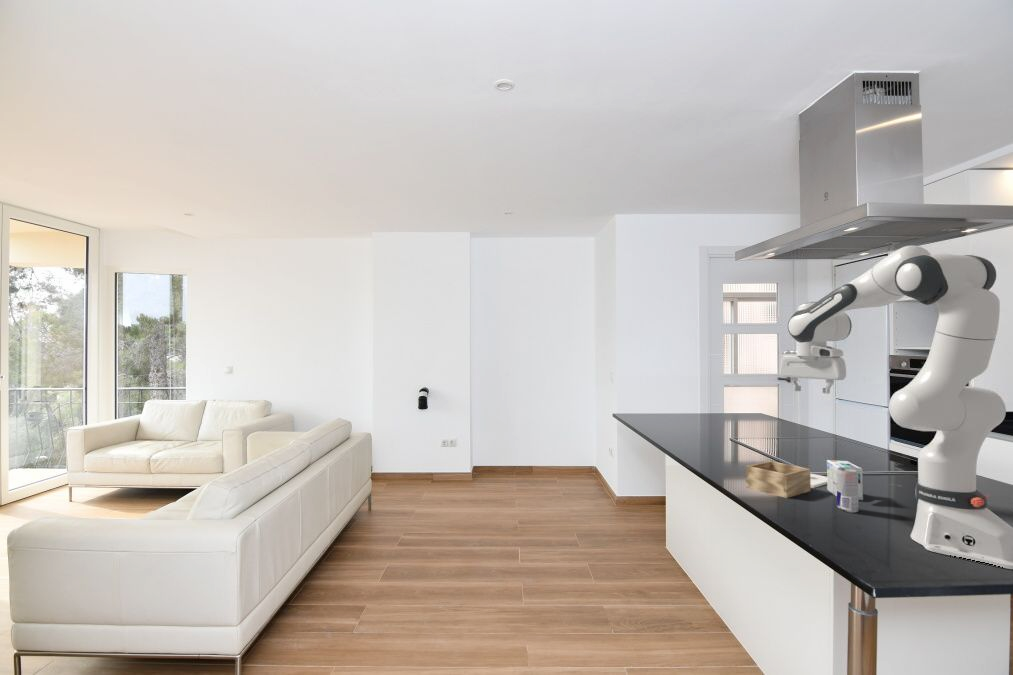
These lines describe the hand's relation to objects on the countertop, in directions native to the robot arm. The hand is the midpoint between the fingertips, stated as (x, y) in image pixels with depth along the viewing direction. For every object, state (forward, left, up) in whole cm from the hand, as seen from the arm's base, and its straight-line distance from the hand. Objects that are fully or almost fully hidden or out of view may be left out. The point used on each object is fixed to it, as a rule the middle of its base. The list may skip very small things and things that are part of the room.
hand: (811, 392), depth 176 cm
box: (+6, +10, -33) cm, 35 cm away
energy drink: (-16, +11, -33) cm, 39 cm away
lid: (+8, -9, -33) cm, 36 cm away
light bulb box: (-9, -2, -33) cm, 35 cm away
